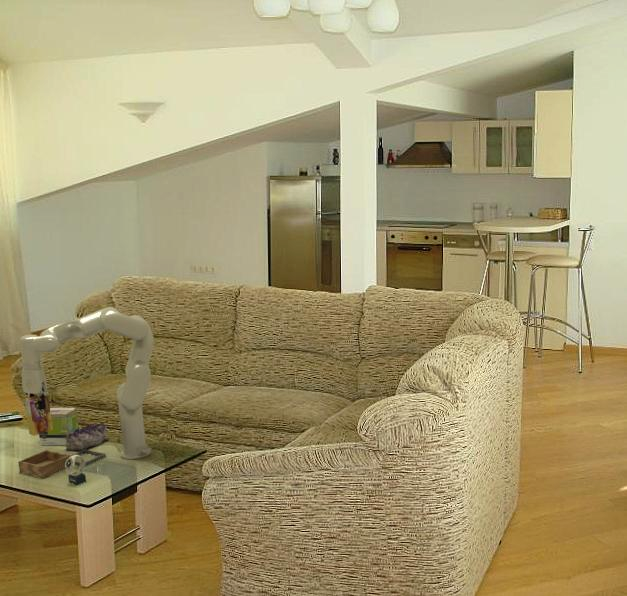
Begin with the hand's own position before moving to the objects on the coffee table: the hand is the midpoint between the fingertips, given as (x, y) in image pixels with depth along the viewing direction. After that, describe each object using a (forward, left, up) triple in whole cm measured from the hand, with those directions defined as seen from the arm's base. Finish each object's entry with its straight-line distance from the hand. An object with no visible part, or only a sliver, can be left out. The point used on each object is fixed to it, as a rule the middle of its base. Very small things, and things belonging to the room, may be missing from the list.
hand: (37, 407), depth 384 cm
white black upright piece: (-23, +4, -27) cm, 36 cm away
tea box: (+21, -27, -27) cm, 44 cm away
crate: (0, 0, -27) cm, 27 cm away
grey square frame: (-7, -15, -27) cm, 31 cm away
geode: (+6, -29, -27) cm, 40 cm away
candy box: (0, 0, -11) cm, 11 cm away
